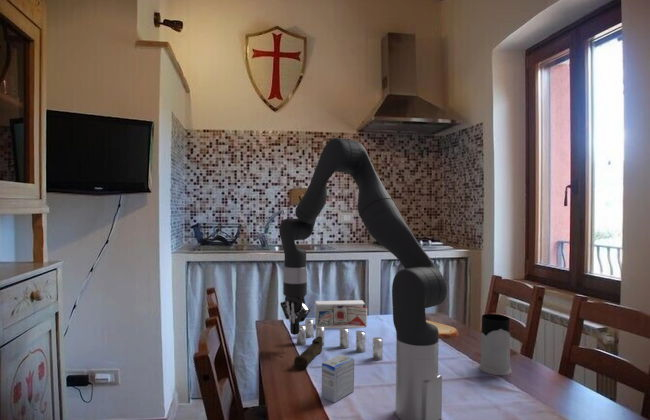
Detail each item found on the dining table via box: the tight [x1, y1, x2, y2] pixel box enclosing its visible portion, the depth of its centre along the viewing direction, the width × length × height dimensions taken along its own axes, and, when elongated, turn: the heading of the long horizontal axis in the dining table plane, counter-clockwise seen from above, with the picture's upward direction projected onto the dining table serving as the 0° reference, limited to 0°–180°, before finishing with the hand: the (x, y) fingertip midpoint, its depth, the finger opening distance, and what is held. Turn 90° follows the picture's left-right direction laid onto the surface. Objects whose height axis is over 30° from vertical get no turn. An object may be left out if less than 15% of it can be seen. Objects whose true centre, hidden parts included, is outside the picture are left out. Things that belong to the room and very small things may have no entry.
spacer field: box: [296, 318, 384, 361], centre depth 135 cm, size 33×13×6 cm, turn 43°
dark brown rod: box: [293, 336, 323, 371], centre depth 126 cm, size 19×4×5 cm, turn 159°
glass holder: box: [478, 313, 512, 376], centre depth 121 cm, size 9×14×15 cm, turn 178°
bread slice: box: [426, 319, 460, 339], centre depth 154 cm, size 18×18×4 cm
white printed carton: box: [314, 299, 368, 330], centre depth 160 cm, size 20×6×9 cm, turn 95°
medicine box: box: [321, 354, 355, 403], centre depth 102 cm, size 8×4×9 cm, turn 141°
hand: (294, 333), depth 132 cm, fingers closed
